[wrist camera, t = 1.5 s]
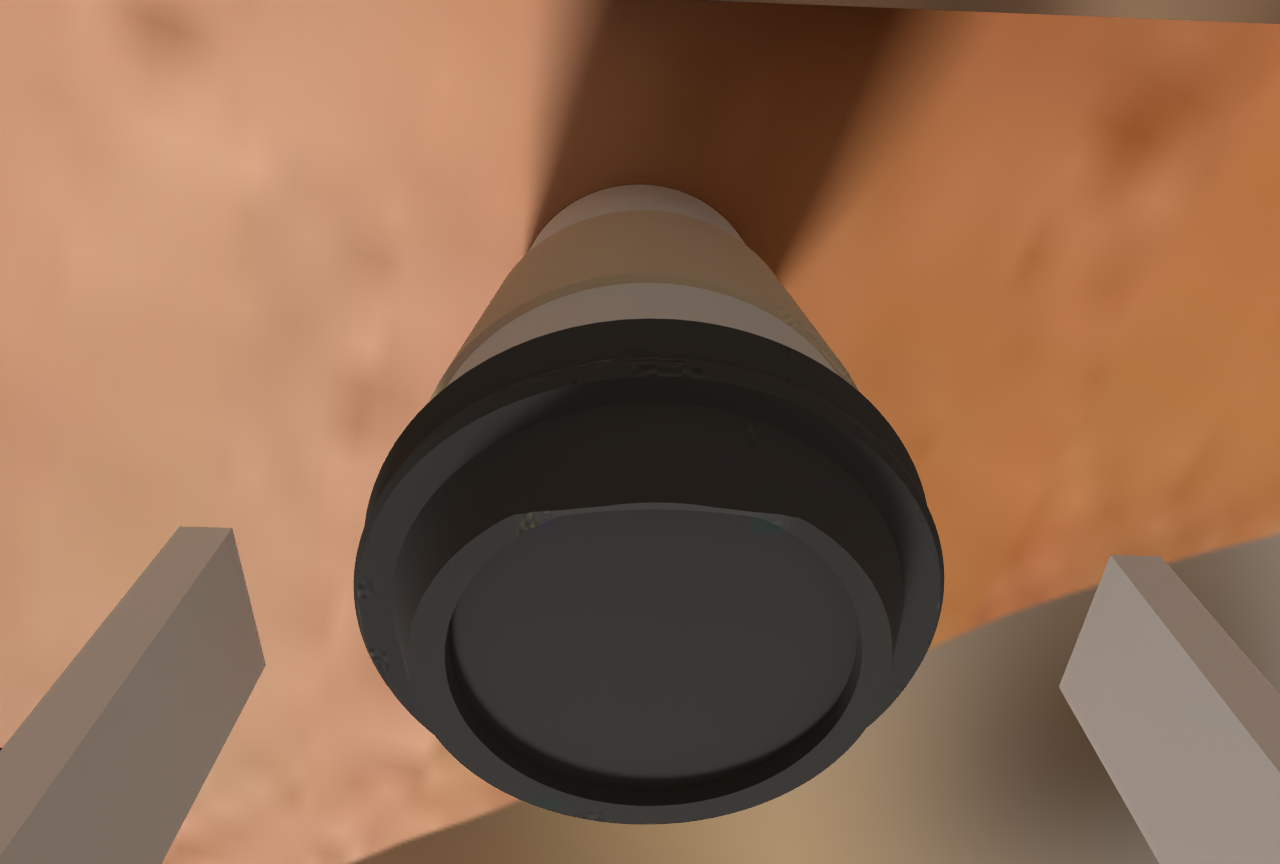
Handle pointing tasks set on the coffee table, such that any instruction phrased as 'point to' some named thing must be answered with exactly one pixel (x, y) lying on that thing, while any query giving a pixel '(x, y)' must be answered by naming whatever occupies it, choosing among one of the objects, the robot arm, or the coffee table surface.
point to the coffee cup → (647, 531)
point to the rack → (1086, 8)
